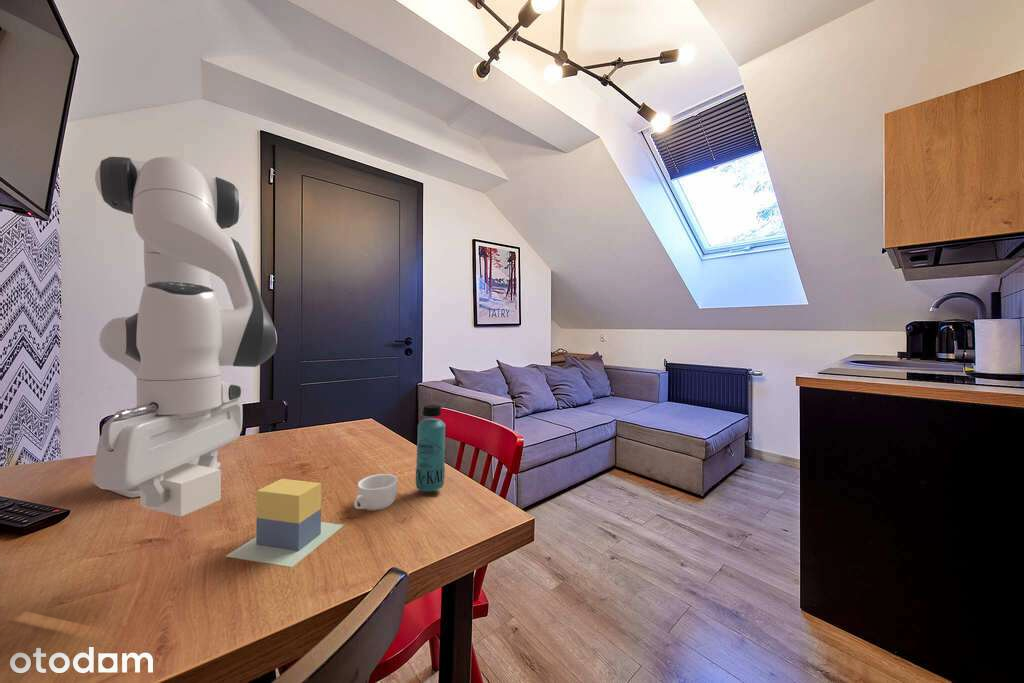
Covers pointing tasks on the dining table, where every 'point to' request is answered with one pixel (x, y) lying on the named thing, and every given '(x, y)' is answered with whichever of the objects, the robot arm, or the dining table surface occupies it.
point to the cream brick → (188, 489)
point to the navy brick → (288, 532)
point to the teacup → (376, 492)
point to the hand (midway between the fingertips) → (181, 491)
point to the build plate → (282, 555)
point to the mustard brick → (289, 500)
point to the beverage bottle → (430, 451)
